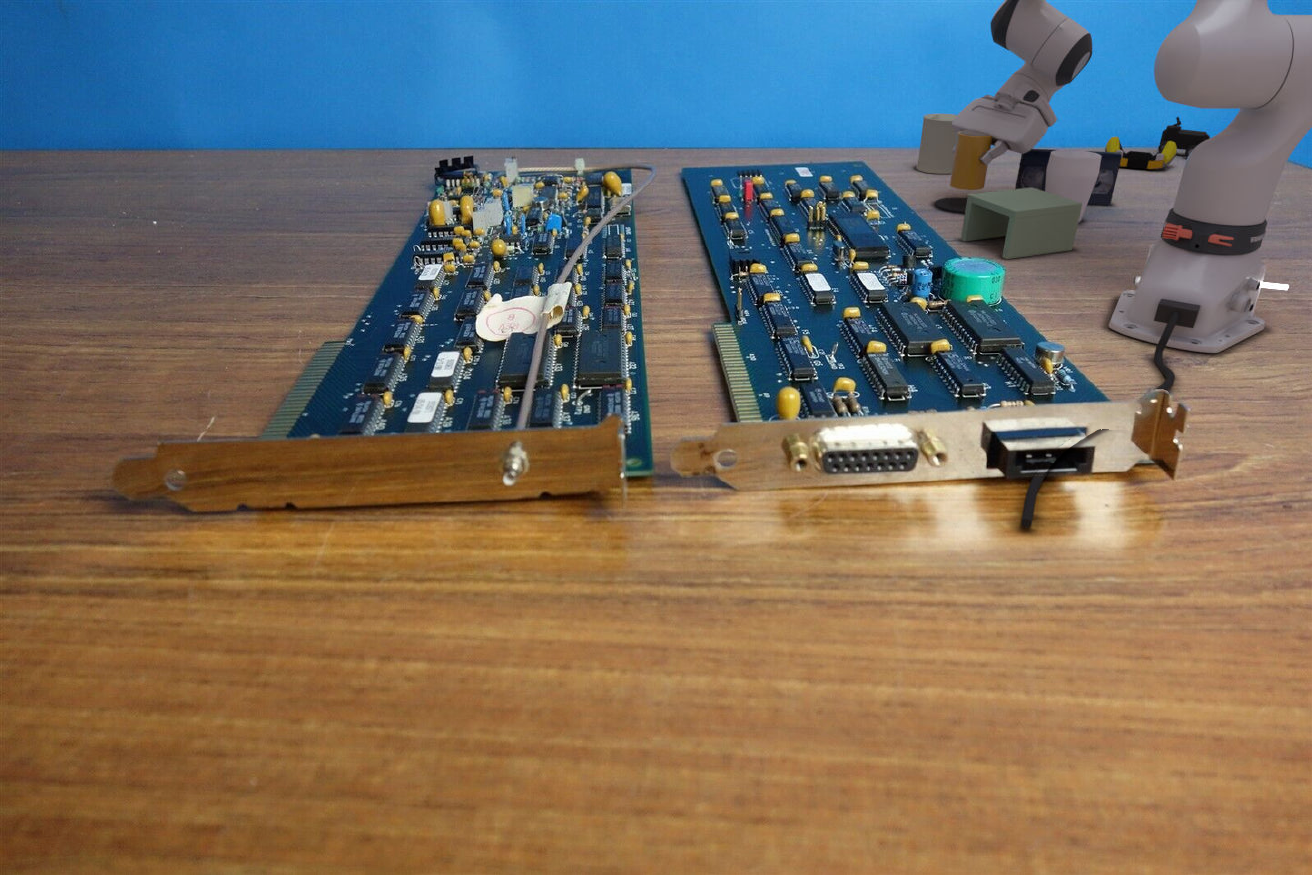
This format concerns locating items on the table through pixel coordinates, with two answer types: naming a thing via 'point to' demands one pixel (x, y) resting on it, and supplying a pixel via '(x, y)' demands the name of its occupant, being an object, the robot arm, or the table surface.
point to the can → (937, 144)
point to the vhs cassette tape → (1036, 166)
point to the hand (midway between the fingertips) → (968, 158)
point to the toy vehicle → (1182, 137)
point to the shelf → (1022, 221)
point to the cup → (1072, 175)
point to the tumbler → (970, 160)
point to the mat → (952, 204)
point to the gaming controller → (1143, 155)
